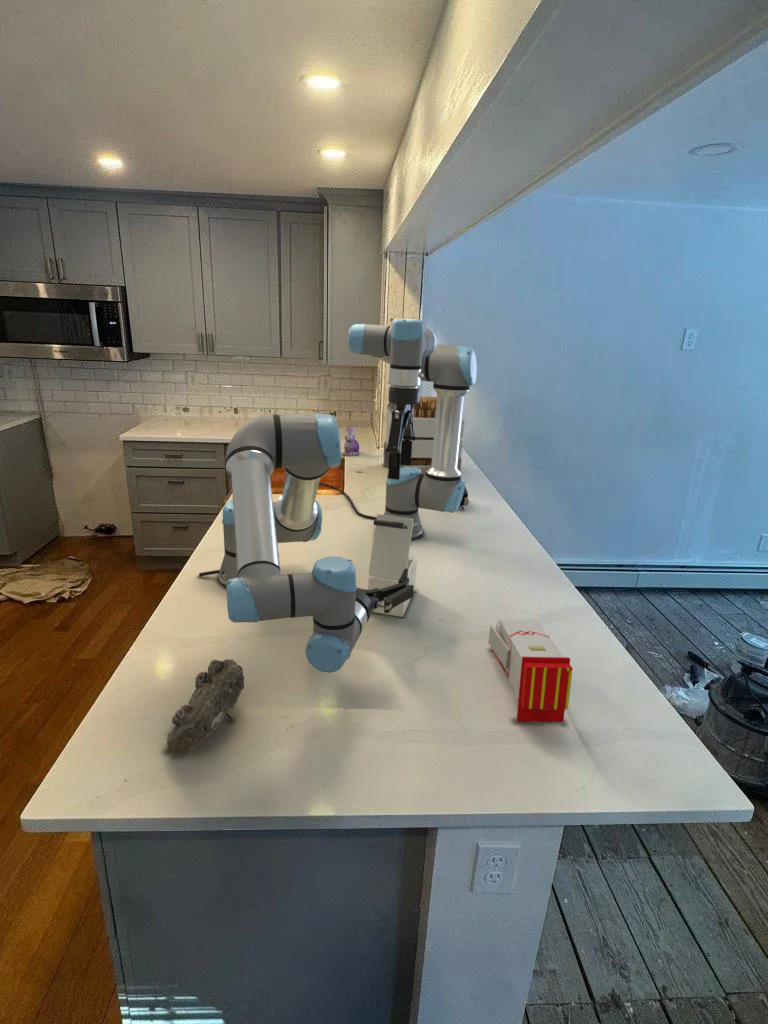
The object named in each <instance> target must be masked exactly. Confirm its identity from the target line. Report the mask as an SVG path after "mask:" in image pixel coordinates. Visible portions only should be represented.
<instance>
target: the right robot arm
mask: <svg viewBox="0 0 768 1024" xmlns="http://www.w3.org/2000/svg"><path fill="white" fill-rule="evenodd" d="M435 333H436V332H434V331H433V329H431V328H429V327H427V326H425V323H424V321H423V320H422V319H416V318H395V319H394V320H393V321H392V323H391V325H382V324H367V323H354V324H353V325H351V326H350V328H349V330H348V333H347V346H348V349H349V351H350V352H351V353H352V354H356V355H360V356H363V355H365V356H370V357H372V358H375V359H377V360H379V361H382V362H384V363H386V364H389V372H388V373H389V374H388V384H389V385H390V386H389V387H388V397H387V398H388V399H387V400H388V403H389V402H390V403H393V404H396V406H397V407H396V410H393V411H392V421H391V427H390V434H389V441H388V447H387V449H386V452H387V453H389V467H388V468H387V470H388V473H387V475H386V482H385V504H384V505H385V507H384V508H385V509H384V513H383V515H388V516H396V517H404V518H411V519H414V522H413V529H412V536H411V540H415V539H418V538H420V537H421V536H422V535H423V525H422V524H421V518H420V515H419V509H424V510H430V511H435V512H436V511H437V512H441V513H450V514H451V513H456V512H457V511H458V509H459V508H460V507H459V505H460V503H461V500H462V497H463V493H464V489H465V487H466V480H465V479H464V478H462V473H460V471H459V470H458V469H457V463H458V452H459V442H460V439H461V438H460V432H461V422H462V419H463V410H464V402H465V401H464V400H465V395H467V394H468V393H469V392H470V388H471V387H472V386H474V385H475V384H476V381H477V373H478V372H477V368H478V367H477V357H476V353H475V351H474V349H473V348H472V347H470V346H466V345H465V346H464V345H459V344H458V345H455V344H440V343H439V344H438V338H437V334H435ZM421 381H422V382H431V383H432V389H433V390H434V391H435V393H436V397H437V403H436V415H435V427H434V440H433V452H432V464H431V465H430V466H429V468H427V469H426V471H425V473H422V470H421V468H419V467H417V466H411V456H412V441H411V440H414V441H415V439H416V437H415V436H414V435H415V433H414V413H413V410H414V405H415V404H418V403H419V398H420V397H421V389H420V388H419V386H421ZM402 438H403V440H402ZM401 443H402V444H401ZM400 448H401V453H400ZM400 461H401V462H400ZM400 465H404V467H402V468H400ZM319 485H320V486H324V487H327V488H329V489H333V490H335V491H338V492H339V493H341V494H342V495H344V496H345V497H346V499H347V500H348V503H350V505H351V507H352V509H353V510H354V512H355V514H357V515H358V516H360V517H362V518H365V519H366V518H367V519H371V520H374V519H377V516H373V515H367V514H363V513H361V512H359V511H358V509H357V507H356V505H355V504H354V503H353V501H352V499H351V498H350V496H349V495H348V494H347V493H346V492H345V491H343V490H342V489H340V488H337V487H335V486H333V485H330V484H328V483H327V484H326V483H323V482H319Z"/></svg>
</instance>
